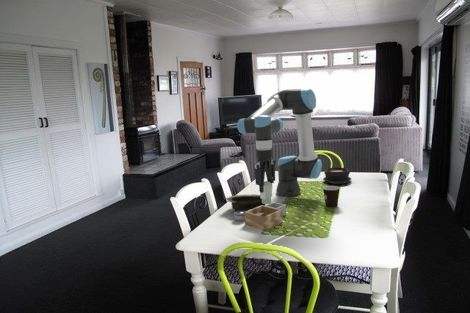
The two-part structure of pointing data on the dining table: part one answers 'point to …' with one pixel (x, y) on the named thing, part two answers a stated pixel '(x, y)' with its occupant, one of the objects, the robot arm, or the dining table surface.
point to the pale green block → (267, 193)
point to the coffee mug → (331, 196)
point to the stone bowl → (245, 202)
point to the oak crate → (263, 217)
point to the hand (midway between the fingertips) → (266, 197)
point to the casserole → (337, 175)
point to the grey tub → (278, 207)
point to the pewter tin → (239, 216)
